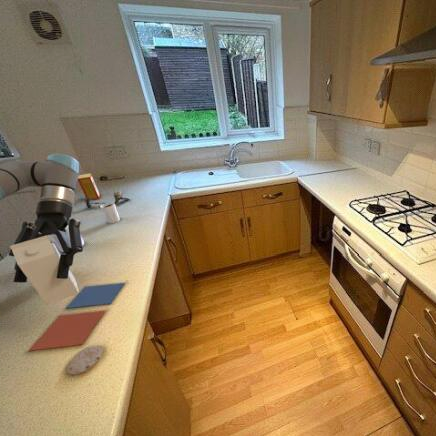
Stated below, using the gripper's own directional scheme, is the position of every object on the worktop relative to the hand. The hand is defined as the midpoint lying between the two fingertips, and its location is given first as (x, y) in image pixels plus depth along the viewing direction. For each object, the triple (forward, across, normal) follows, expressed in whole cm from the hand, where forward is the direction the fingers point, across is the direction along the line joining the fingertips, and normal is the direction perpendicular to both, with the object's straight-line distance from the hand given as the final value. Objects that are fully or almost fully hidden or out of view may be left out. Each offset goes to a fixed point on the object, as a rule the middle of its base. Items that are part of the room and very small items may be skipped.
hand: (41, 280), depth 65 cm
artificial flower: (-56, +40, -83) cm, 108 cm away
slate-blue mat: (+4, 0, -22) cm, 23 cm away
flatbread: (+22, -11, -5) cm, 25 cm away
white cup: (-38, +24, -65) cm, 79 cm away
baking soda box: (-66, +58, -93) cm, 128 cm away
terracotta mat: (+14, 0, -12) cm, 19 cm away
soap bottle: (-20, +30, -47) cm, 59 cm away
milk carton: (+4, 0, -8) cm, 9 cm away
